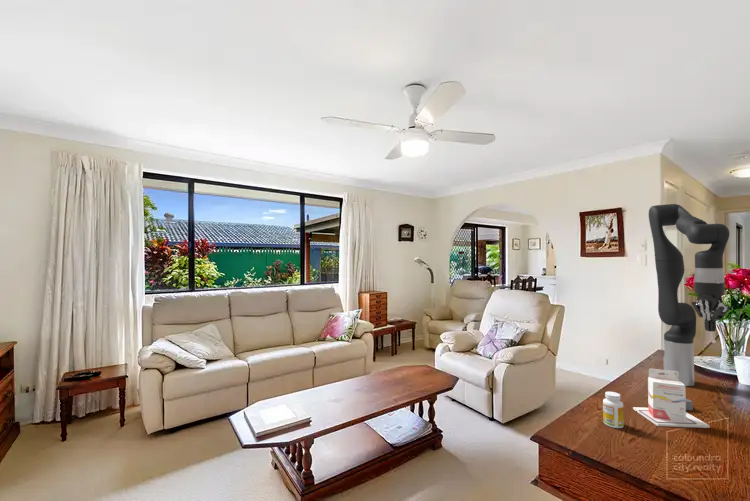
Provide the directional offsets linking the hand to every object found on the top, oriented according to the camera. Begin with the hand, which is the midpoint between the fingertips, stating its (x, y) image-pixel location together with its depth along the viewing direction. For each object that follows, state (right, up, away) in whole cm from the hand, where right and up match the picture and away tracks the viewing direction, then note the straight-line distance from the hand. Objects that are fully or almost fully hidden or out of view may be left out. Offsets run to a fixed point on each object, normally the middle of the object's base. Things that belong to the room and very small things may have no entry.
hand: (710, 330), depth 120 cm
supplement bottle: (-41, -28, -10) cm, 50 cm away
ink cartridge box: (-21, -27, -7) cm, 35 cm away
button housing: (-10, -27, +3) cm, 29 cm away
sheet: (-20, -27, -6) cm, 34 cm away
